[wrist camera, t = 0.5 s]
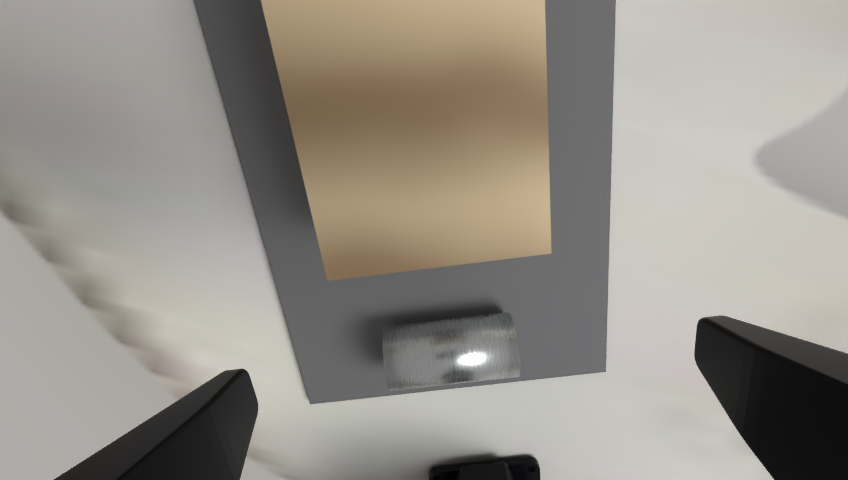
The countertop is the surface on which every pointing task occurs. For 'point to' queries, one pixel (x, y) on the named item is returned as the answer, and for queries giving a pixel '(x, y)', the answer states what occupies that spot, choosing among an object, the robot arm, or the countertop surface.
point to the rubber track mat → (443, 286)
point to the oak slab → (418, 128)
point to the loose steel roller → (450, 351)
